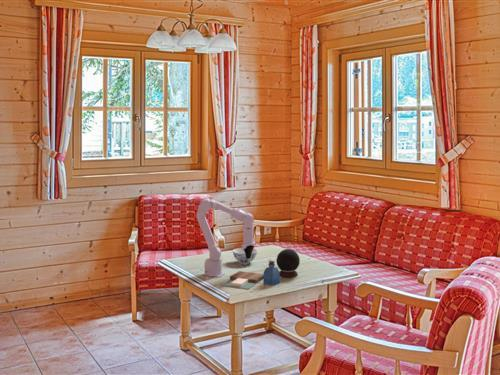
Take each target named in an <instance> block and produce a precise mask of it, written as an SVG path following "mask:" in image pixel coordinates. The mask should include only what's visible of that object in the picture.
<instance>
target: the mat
mask: <svg viewBox="0 0 500 375" xmlns="http://www.w3.org/2000/svg"><path fill="white" fill-rule="evenodd" d="M233 281H234V280H230V279H228V280H227V281H225V282H223V283H222V284H220V286H221V287H227V288H228V287H229V288H235V289H244V290H250V289H252V288H253V287H254V286H256V285H257V284H256V283H251V282H248V283H246V284H245V285H243V286H242V287H240V286H233V285H231V282H233Z"/></svg>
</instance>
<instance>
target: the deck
mask: <svg viewBox="0 0 500 375" xmlns="http://www.w3.org/2000/svg"><path fill="white" fill-rule="evenodd" d="M237 278H242V279H248V282H251V283H256V285H257V284H258V283H260V282H261V281H263V279H264V273H258V272H251V271H243V270H239V271H236V272H235V273H233V274H232V275H230V277H229V280H236V279H237Z"/></svg>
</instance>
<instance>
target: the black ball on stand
mask: <svg viewBox="0 0 500 375" xmlns="http://www.w3.org/2000/svg"><path fill="white" fill-rule="evenodd" d="M275 261H276V266H277V268H278V270H279V272H280V278H282V279H283V278H285V279H292V278H293V277H294V278H296V276H297V277H298V275H299V274H298V272H297V271H296V270H297V269H298V268H299V265H300V263H301V261H300V256H299V254H298V253H297V251H295V250H293V249H290V248H285V249H282V250H281V251H280V252H279V253H278V254H277V256H276V259H275ZM294 278H293V279H294Z"/></svg>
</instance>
